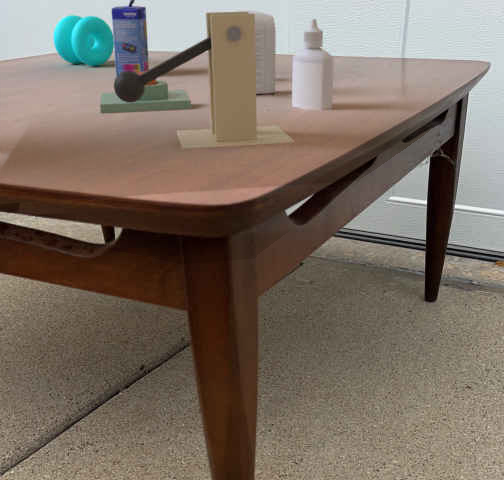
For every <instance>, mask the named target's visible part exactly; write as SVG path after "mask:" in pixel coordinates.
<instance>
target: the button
mask: <svg viewBox="0 0 504 480" xmlns="http://www.w3.org/2000/svg"><path fill="white" fill-rule="evenodd" d="M144 72H146V71H140V72H136V73H137V74H139V75H140V74H142V73H144ZM156 80H157V78H156V79H154V80H153V81H151V82H149V83H147V84H145V85H153V84H157V81H156Z"/></svg>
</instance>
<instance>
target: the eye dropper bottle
mask: <svg viewBox="0 0 504 480" xmlns="http://www.w3.org/2000/svg"><path fill="white" fill-rule="evenodd" d="M323 32H324V31H323V30H322V29H320V28H319V27H318V22H317V18H311V19H310V21H309V26H308V28H307V29H306V30H304V31H303V49H302V50H299V51H297V52H295V54H294V55H293V57H292V69H291V70H292V71H291V72H292V73H291V76H292V77H291V78H292V79H291V81H292V82H291V83H292V84H291V106H292V107H294V108H297V109H304V110H311V111H326V110H332V109H333V97H334V94H333V92H334V58H333V55H332V54H330V53H329V52H328V51H326V50H324V49H323V45H324V44H323V43H324V42H323V41H324V39H323V38H324V36H323V35H324V33H323Z"/></svg>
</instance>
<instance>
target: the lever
mask: <svg viewBox="0 0 504 480" xmlns="http://www.w3.org/2000/svg"><path fill="white" fill-rule="evenodd" d="M211 48H212V45H211V36H210V37H208V38H207V37H206V38H204V39H202V40H201V41H199V42H197V43H195V44H193V45H192V46H190V47H188V48H186V49H184V50H183V51H181V52H179V53H177V54H175V55H173V56H171V57H170V58H168V59H166V60H164V61H162V62H160V63H158V64H157V65H155V66H153V67H151V68H149V70H148V71H146V72H144V73H142V74H140V75H139V74H137V73H136V72H133V71H124V72H122V73H120V74H119V75H118V76H116V77H115V79H114V82H113V90H114V93H116V95H117V96H118V97H119V98H120V99H121V100H122V101H125V102H129V103H131V102H136V101H138V100H139V99H140V98H141V97H142V96H143V94H144V90H145V84H147V83H149V82H151V81H153V80H154V79H156V80H157V79H158V78H160V77H162V76H164V75H165V74H168V73H169V72H171V71H173V70H174V69H175V70H176V68H179V67H180V66H182V65H184V64H185V63H187V62H190V61H191V60H193V59H195V58H197V57H199V56H201V55H202V54H204V53H206V52H208V50H210V49H211Z"/></svg>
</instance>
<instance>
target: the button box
mask: <svg viewBox="0 0 504 480" xmlns="http://www.w3.org/2000/svg"><path fill="white" fill-rule="evenodd" d="M156 81H157V84H153V85H145V90H144V94H143V96H142V97H141V98H140V99H139V100H138V101H136V102H131V103H129V102H125V101H122V100H121V99H120V98H119V97H118V96H117V95H116V93H115V92H102V93H101V97H100V101H99V107H100V108H99V111H100V114H114V113H134V112H135V113H137V112H154V111H155V112H156V111H176V110H191V109H192V99H190V97H189V94H188V93H187V91H186V89H185V88H184V89H169V86H168V82H167V80H161V79H156Z"/></svg>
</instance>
